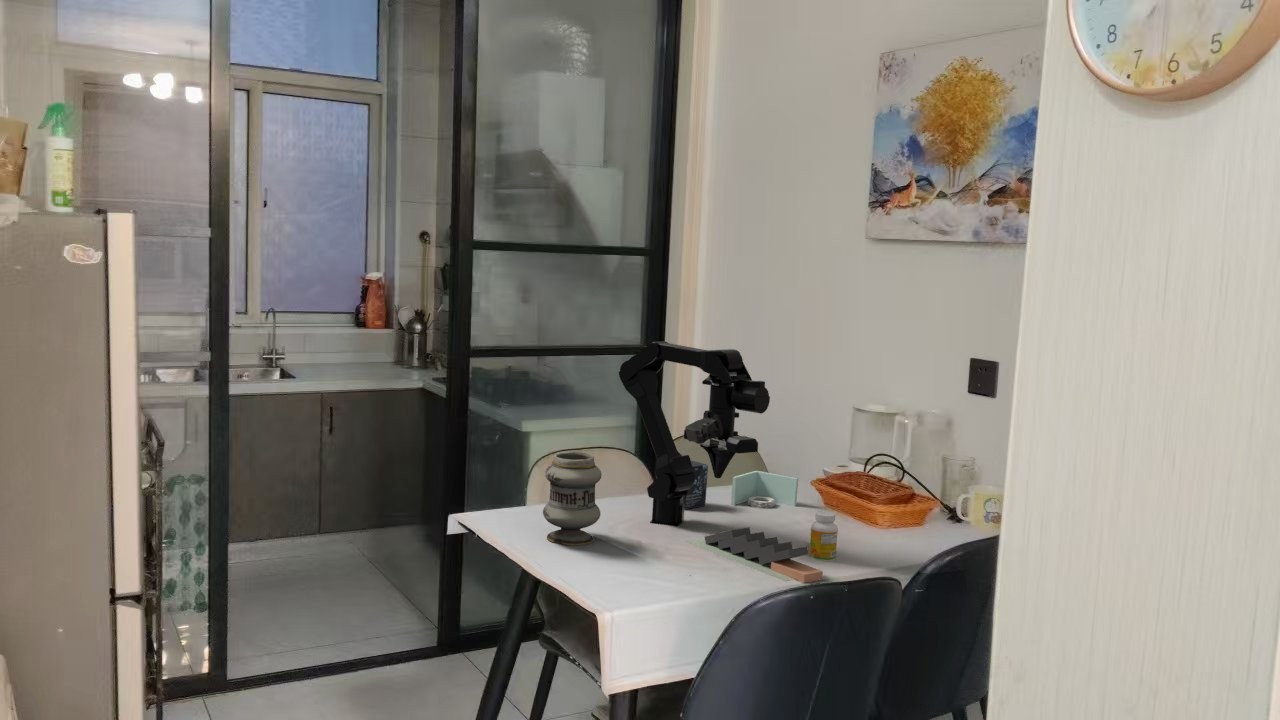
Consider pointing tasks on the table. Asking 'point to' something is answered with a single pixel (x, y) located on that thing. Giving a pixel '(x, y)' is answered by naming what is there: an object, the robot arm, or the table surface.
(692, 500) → the box
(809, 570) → the domino
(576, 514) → the apothecary jar
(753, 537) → the domino
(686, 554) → the table surface
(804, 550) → the domino
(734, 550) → the domino
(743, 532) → the domino
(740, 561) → the rack
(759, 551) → the domino
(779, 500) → the right angle wall
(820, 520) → the supplement bottle
